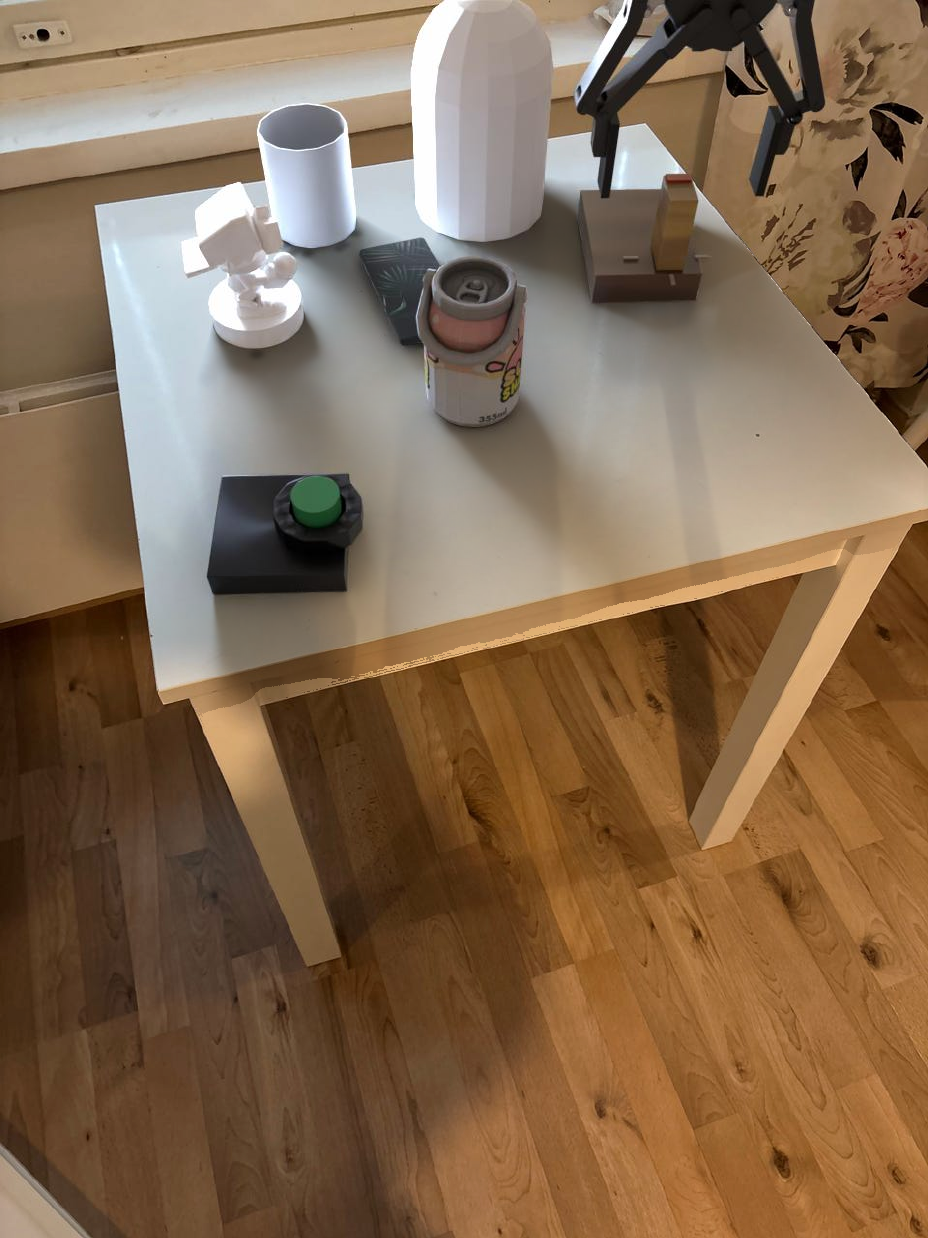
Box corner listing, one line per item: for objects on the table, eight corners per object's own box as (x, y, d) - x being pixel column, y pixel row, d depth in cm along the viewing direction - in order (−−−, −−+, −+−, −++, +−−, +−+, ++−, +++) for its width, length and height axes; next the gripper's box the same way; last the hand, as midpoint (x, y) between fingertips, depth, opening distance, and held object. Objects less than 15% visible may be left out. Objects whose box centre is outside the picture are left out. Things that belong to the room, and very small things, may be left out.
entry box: (363, 591, 71) (359, 558, 68) (212, 594, 71) (200, 561, 67) (367, 491, 77) (363, 456, 73) (227, 494, 76) (216, 459, 73)
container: (567, 221, 98) (589, 9, 81) (450, 256, 94) (448, 41, 78) (506, 157, 105) (515, -52, 88) (395, 186, 101) (383, -24, 85)
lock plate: (710, 311, 90) (717, 282, 87) (593, 313, 90) (597, 284, 87) (683, 215, 99) (689, 186, 96) (577, 216, 98) (580, 188, 96)
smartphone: (423, 235, 95) (472, 325, 87) (424, 244, 96) (472, 334, 87) (357, 248, 94) (400, 341, 85) (358, 257, 94) (400, 350, 86)
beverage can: (504, 450, 79) (511, 333, 69) (408, 430, 81) (401, 312, 71) (530, 377, 84) (540, 259, 75) (439, 359, 86) (437, 241, 76)
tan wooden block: (683, 270, 88) (699, 197, 82) (656, 270, 88) (670, 198, 82) (676, 244, 91) (691, 171, 85) (650, 244, 91) (663, 172, 85)
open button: (341, 527, 70) (338, 512, 68) (292, 528, 70) (288, 513, 68) (343, 491, 72) (340, 475, 70) (295, 492, 72) (292, 476, 70)
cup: (352, 248, 95) (342, 151, 87) (270, 247, 95) (252, 150, 87) (358, 200, 100) (349, 103, 92) (280, 199, 100) (264, 102, 92)
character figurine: (309, 340, 87) (290, 221, 77) (205, 356, 86) (172, 236, 76) (297, 282, 92) (277, 163, 82) (198, 296, 91) (166, 176, 81)
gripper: (899, -118, 69) (809, 163, 86) (556, -117, 68) (536, 166, 86) (931, -75, 65) (830, 211, 82) (566, -73, 64) (542, 215, 82)
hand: (679, 188), depth 84 cm, fingers open, 13 cm apart
